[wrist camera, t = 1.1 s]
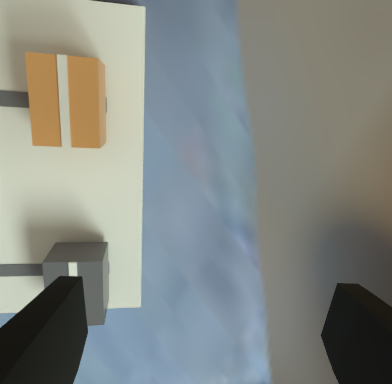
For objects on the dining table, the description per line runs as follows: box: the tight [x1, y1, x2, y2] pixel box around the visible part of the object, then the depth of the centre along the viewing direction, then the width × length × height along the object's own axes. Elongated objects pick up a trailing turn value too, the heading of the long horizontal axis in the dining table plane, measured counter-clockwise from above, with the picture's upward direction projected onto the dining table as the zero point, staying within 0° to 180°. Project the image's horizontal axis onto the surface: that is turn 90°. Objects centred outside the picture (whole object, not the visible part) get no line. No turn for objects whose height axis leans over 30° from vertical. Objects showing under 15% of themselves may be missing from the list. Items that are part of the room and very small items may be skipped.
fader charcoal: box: [42, 242, 109, 326], centre depth 17 cm, size 4×3×2 cm
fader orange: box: [25, 52, 106, 149], centre depth 15 cm, size 4×3×2 cm
